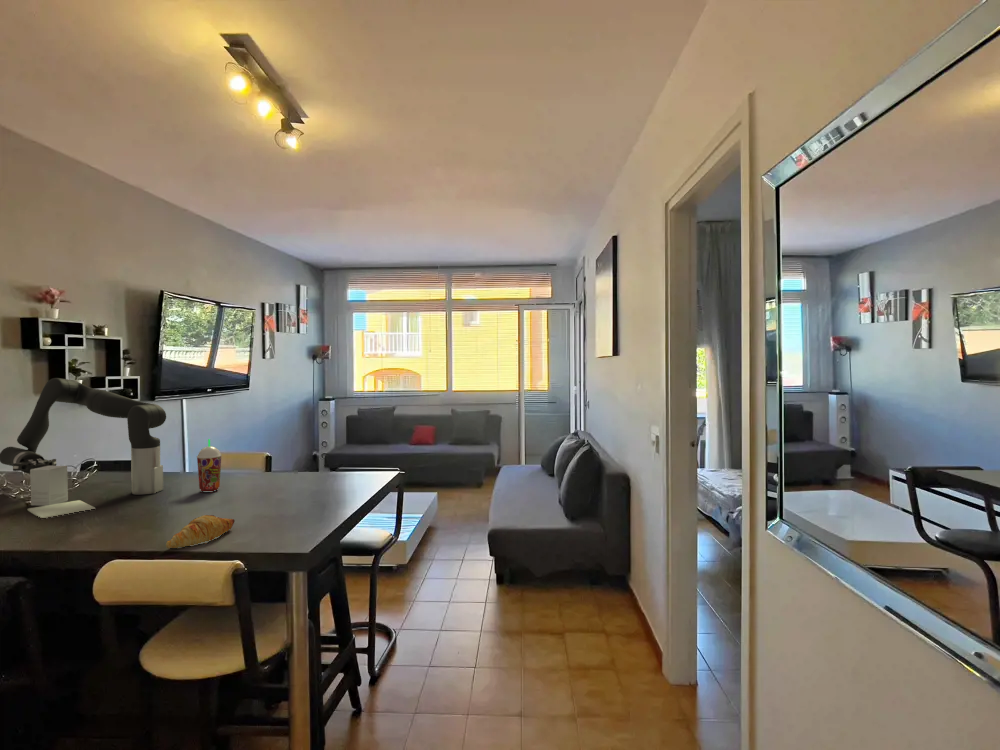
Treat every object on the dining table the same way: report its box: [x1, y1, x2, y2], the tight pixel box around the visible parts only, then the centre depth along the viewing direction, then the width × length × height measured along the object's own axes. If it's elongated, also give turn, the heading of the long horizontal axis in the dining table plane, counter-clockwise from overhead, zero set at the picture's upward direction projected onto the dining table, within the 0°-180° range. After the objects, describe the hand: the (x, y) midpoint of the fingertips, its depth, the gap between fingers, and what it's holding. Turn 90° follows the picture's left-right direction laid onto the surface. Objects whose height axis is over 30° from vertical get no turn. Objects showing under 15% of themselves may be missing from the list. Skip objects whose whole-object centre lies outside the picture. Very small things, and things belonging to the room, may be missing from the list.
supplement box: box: [29, 465, 69, 507], centre depth 187 cm, size 7×7×13 cm
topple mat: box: [27, 499, 96, 519], centre depth 179 cm, size 16×14×1 cm
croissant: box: [165, 514, 235, 550], centre depth 150 cm, size 21×10×8 cm, turn 160°
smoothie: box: [196, 438, 222, 492], centre depth 205 cm, size 8×8×20 cm
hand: (42, 467), depth 191 cm, fingers closed
